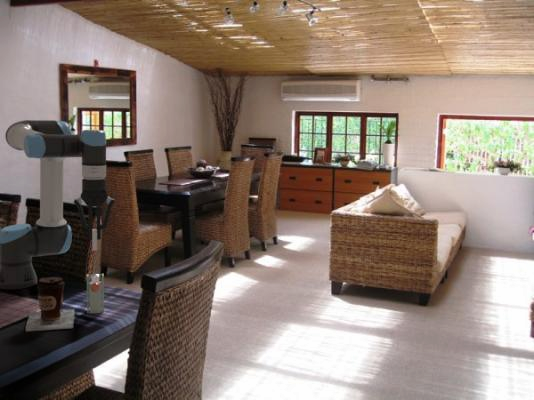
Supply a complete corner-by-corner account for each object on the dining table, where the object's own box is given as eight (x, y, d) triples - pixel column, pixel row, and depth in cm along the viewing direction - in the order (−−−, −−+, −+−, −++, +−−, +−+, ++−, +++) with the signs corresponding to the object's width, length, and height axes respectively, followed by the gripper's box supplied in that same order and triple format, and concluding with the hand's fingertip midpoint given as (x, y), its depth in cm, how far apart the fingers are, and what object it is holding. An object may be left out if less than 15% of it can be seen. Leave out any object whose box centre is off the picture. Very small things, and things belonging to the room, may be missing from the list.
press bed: (30, 316, 195) (30, 311, 195) (74, 313, 199) (74, 309, 199) (25, 331, 182) (25, 326, 182) (72, 328, 186) (72, 323, 186)
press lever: (89, 281, 201) (89, 272, 201) (100, 280, 202) (100, 272, 202) (89, 293, 187) (89, 284, 187) (101, 292, 188) (101, 283, 188)
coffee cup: (55, 323, 185) (54, 284, 183) (31, 320, 187) (30, 281, 185) (69, 314, 194) (69, 276, 192) (47, 312, 195) (46, 274, 194)
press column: (87, 309, 203) (86, 273, 201) (103, 308, 205) (103, 273, 203) (87, 313, 199) (86, 277, 198) (104, 312, 201) (103, 276, 199)
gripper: (72, 179, 182) (73, 252, 186) (115, 179, 186) (115, 251, 189) (73, 176, 189) (74, 247, 193) (114, 176, 193) (114, 246, 197)
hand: (94, 249), depth 191 cm, fingers closed
